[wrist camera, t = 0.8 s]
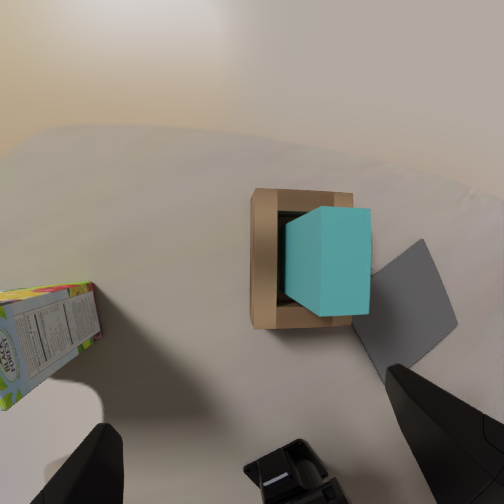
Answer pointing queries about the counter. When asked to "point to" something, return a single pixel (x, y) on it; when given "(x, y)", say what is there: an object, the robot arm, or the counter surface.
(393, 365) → the robot arm
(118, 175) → the counter surface
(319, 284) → the teal block
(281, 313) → the slot box
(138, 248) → the counter surface
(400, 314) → the rubber mat
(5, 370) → the snack box
